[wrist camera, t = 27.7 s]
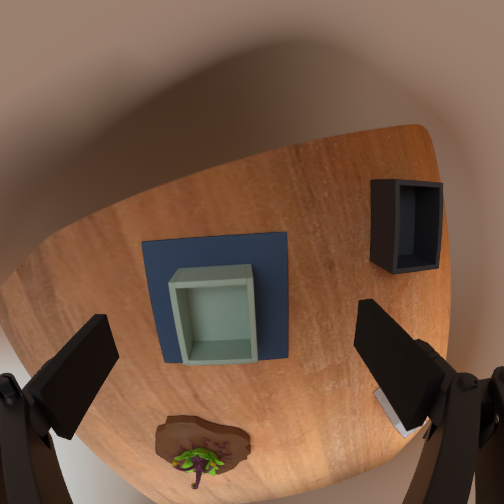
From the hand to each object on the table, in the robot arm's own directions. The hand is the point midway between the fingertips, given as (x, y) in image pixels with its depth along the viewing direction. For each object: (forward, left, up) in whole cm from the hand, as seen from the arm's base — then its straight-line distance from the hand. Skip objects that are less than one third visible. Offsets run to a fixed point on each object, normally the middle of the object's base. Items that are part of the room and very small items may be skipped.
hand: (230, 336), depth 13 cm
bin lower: (-2, +24, -25) cm, 34 cm away
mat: (+9, -3, -25) cm, 26 cm away
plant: (+43, -11, -25) cm, 51 cm away
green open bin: (+9, -3, -24) cm, 26 cm away
